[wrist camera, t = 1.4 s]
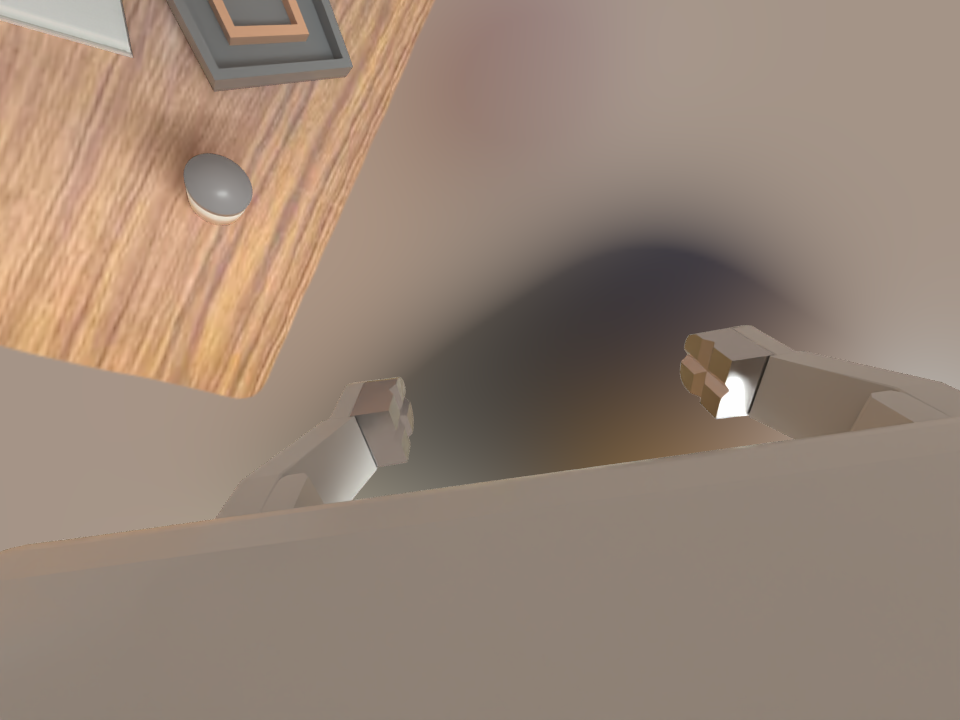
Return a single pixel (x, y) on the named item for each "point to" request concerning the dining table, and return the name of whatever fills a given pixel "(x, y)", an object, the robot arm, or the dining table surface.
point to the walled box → (263, 41)
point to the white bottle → (217, 188)
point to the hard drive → (73, 21)
